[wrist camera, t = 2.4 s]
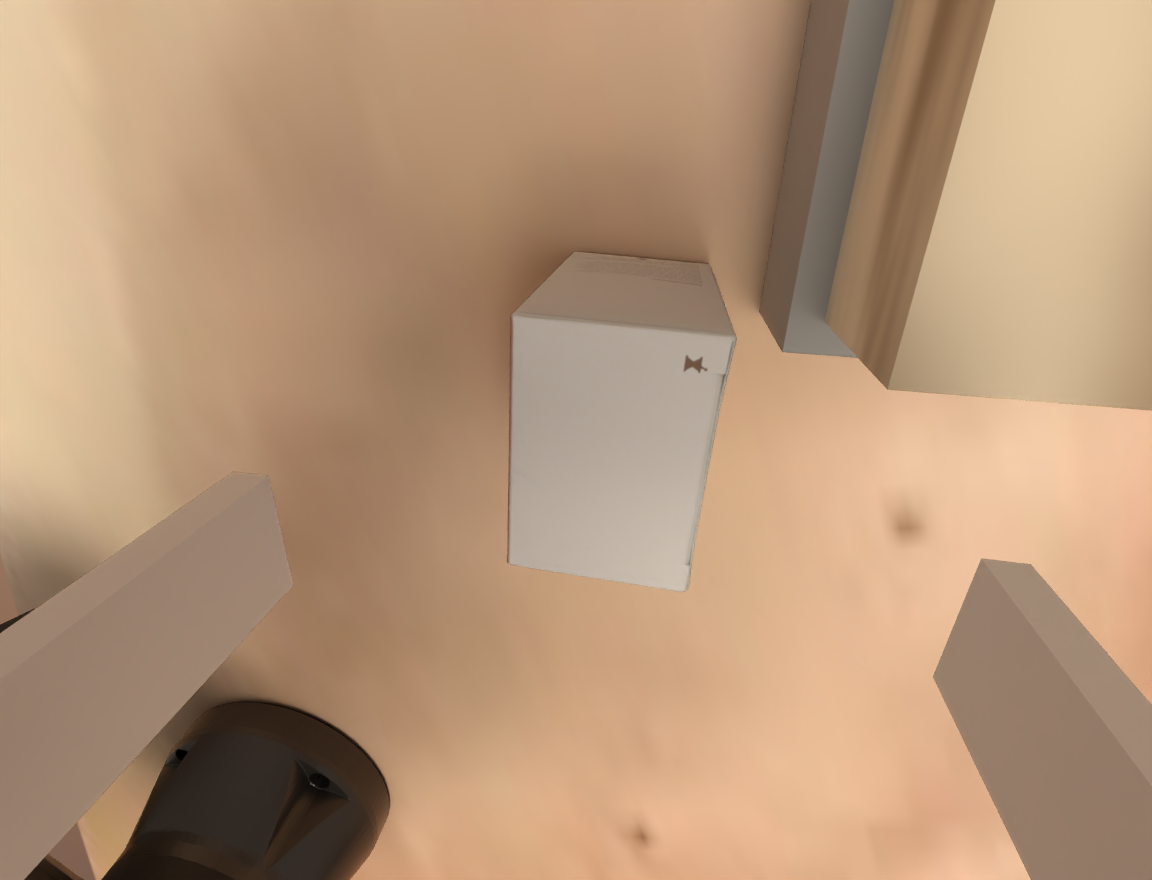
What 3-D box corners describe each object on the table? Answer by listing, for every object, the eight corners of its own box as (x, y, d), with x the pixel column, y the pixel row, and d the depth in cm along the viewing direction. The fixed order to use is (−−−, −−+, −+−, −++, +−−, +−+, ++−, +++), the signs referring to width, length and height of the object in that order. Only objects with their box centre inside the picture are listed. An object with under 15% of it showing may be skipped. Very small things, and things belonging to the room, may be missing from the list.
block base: (758, 310, 24) (782, 352, 18) (820, -67, 19) (879, -161, 13) (1081, 331, 22) (1209, 383, 17) (1245, -72, 17) (1506, -180, 12)
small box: (573, 248, 24) (506, 303, 14) (714, 262, 23) (741, 329, 14) (561, 429, 27) (500, 570, 18) (683, 444, 26) (688, 599, 17)
